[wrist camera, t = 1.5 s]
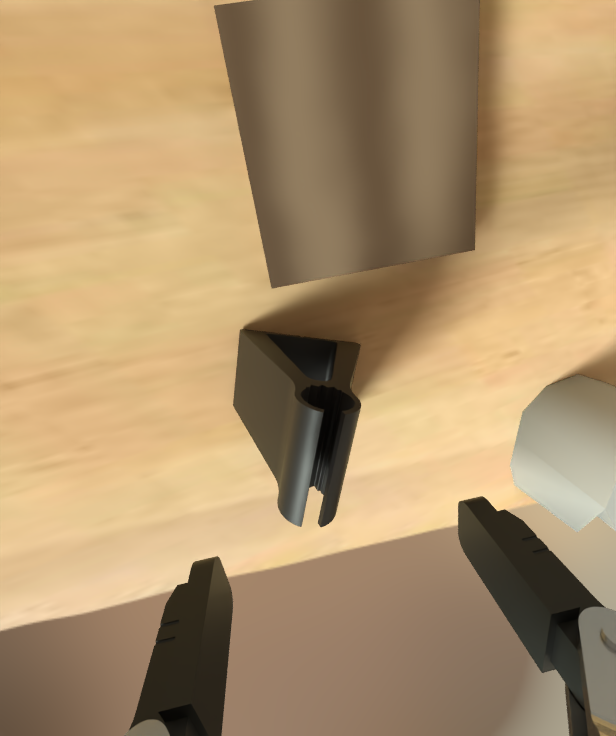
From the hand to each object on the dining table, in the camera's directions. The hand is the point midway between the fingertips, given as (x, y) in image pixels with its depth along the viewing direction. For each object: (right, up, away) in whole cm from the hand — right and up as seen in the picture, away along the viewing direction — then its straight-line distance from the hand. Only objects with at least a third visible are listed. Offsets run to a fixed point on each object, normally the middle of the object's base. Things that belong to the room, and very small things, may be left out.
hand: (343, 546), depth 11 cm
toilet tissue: (+22, 0, +20) cm, 30 cm away
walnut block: (+2, +19, +10) cm, 21 cm away
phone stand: (-2, +6, +15) cm, 16 cm away
